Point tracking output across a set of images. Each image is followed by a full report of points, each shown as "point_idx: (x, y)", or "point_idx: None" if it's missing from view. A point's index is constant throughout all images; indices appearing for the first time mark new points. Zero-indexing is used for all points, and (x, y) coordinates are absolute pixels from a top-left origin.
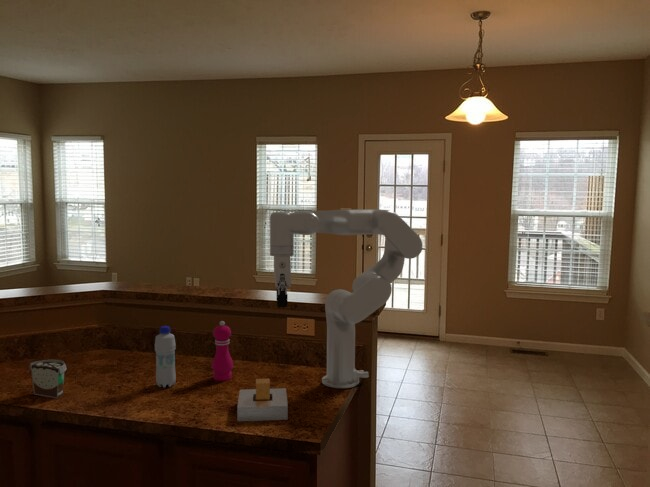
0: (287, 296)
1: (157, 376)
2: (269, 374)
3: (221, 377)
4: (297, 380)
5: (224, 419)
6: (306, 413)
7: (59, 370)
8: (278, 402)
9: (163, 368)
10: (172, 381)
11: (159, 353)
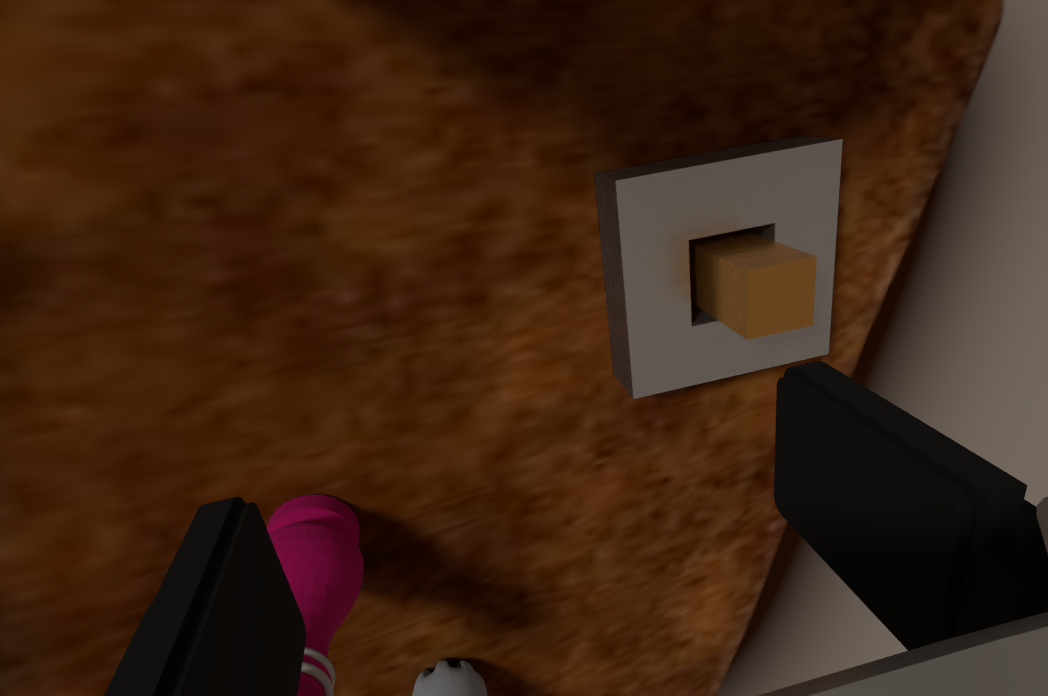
0: (975, 456)
1: None
2: (197, 329)
3: (358, 531)
4: (267, 145)
5: (770, 382)
6: (744, 48)
7: None
8: (798, 190)
9: None
10: (466, 672)
11: None
